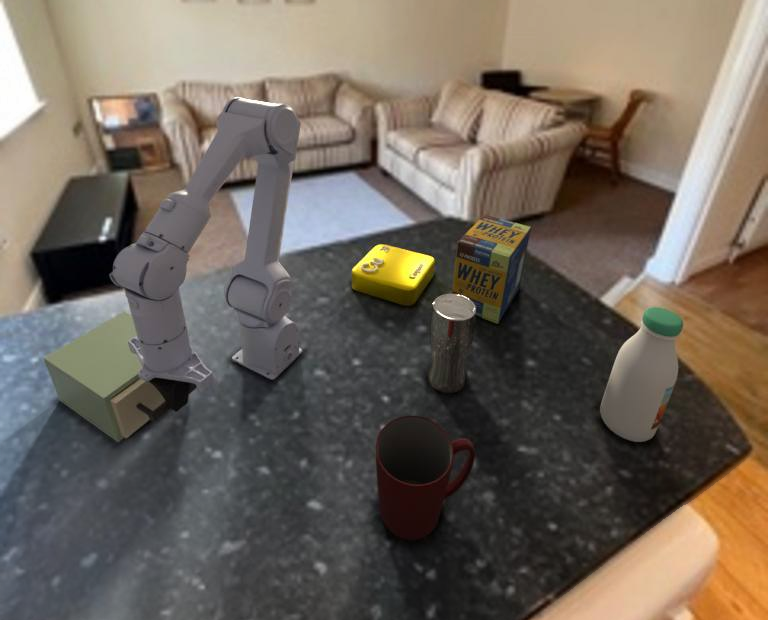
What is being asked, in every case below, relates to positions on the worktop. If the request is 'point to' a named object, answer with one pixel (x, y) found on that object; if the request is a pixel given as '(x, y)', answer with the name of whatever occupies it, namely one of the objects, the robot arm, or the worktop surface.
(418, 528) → the mug
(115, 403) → the drawer
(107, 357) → the cabinet
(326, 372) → the worktop surface
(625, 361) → the milk bottle
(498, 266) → the protein box
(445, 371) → the beer glass
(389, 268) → the element tile
